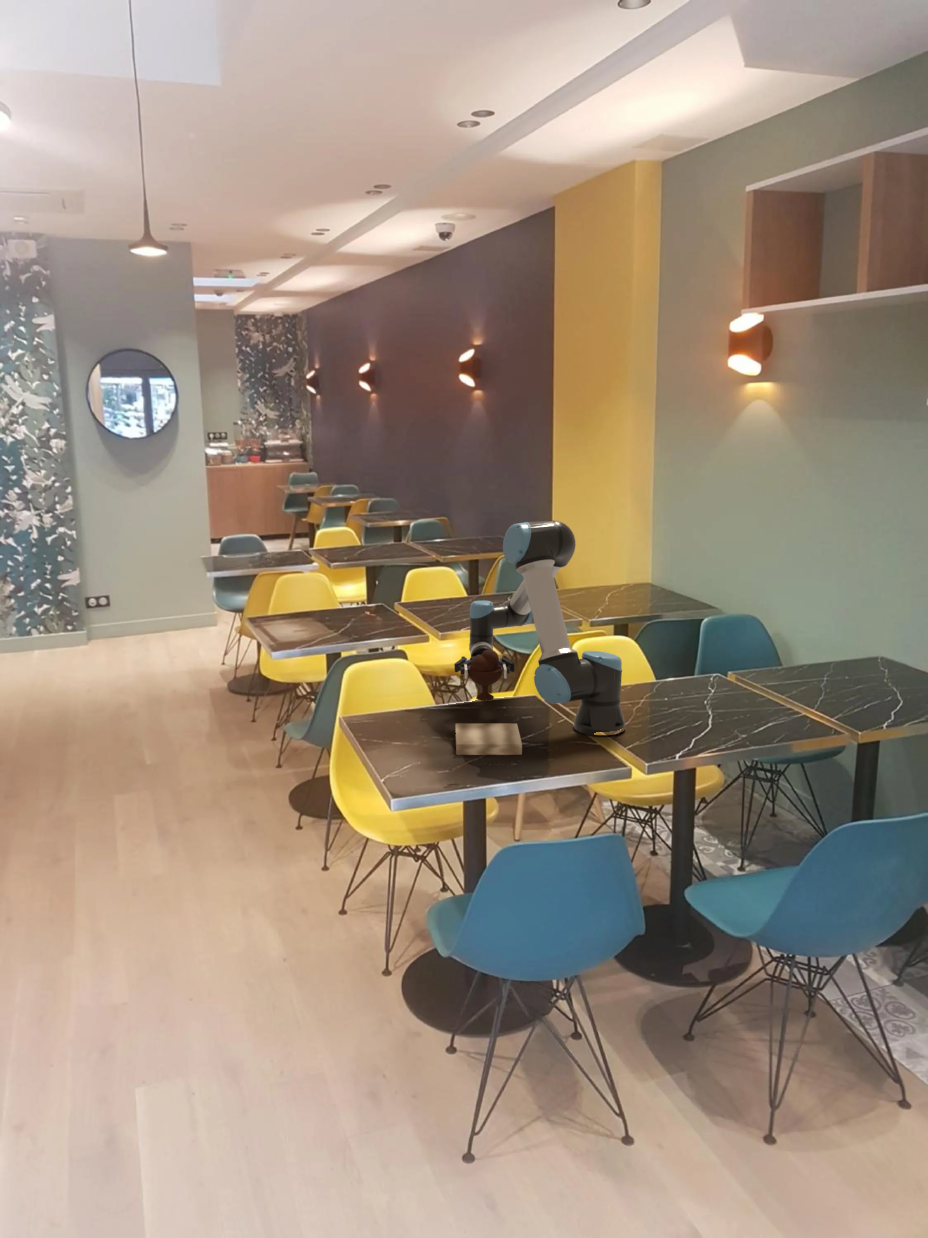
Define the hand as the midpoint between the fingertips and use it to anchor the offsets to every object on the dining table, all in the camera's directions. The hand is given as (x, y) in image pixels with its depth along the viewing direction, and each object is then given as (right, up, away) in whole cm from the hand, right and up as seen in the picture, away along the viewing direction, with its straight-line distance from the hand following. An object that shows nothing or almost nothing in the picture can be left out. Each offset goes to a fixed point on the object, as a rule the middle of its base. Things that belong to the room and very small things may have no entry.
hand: (485, 674), depth 289 cm
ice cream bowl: (0, -8, +6) cm, 10 cm away
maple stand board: (0, -19, -10) cm, 22 cm away
